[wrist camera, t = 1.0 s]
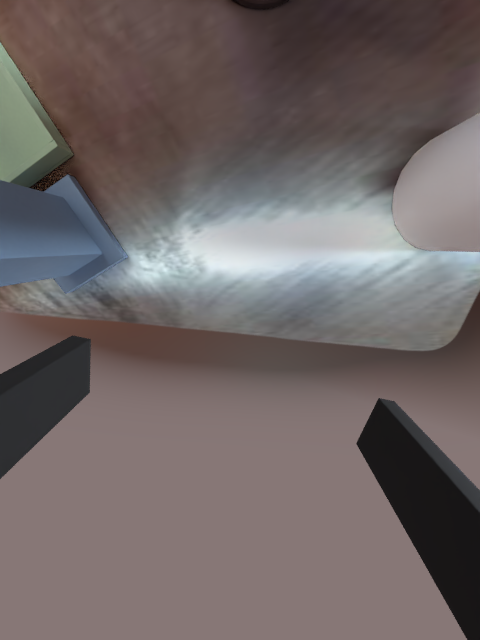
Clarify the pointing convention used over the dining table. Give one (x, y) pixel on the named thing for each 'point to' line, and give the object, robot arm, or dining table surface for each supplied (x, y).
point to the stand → (53, 236)
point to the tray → (25, 131)
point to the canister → (442, 192)
